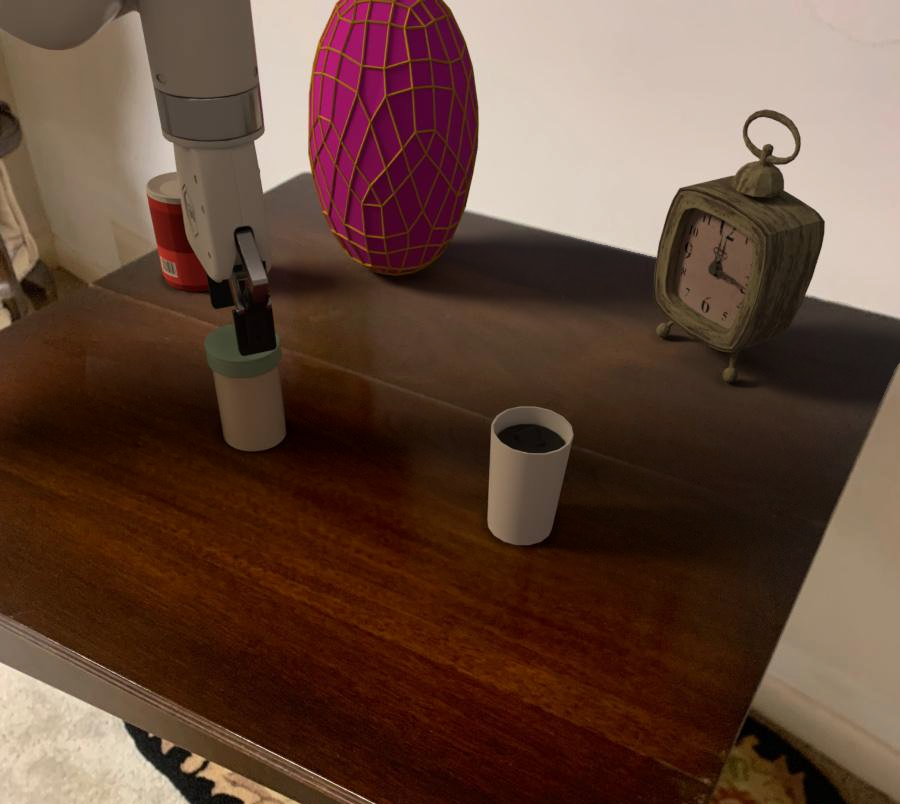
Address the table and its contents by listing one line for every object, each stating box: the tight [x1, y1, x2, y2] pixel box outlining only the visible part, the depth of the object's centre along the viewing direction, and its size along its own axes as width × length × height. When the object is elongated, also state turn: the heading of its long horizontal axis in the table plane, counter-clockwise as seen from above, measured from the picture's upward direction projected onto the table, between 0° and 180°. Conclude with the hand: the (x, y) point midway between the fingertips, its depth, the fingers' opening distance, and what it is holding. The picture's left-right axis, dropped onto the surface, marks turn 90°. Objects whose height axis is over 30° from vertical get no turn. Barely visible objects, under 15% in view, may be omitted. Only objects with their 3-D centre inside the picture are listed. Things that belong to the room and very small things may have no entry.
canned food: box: [145, 171, 209, 293], centre depth 103 cm, size 8×8×11 cm
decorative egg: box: [307, 0, 480, 277], centre depth 100 cm, size 19×19×30 cm
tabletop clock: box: [652, 109, 826, 384], centre depth 91 cm, size 14×9×25 cm, turn 32°
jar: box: [211, 364, 287, 452], centre depth 82 cm, size 6×6×9 cm
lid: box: [203, 322, 283, 378], centre depth 79 cm, size 7×7×2 cm
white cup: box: [486, 405, 574, 546], centre depth 75 cm, size 7×7×10 cm
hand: (243, 326), depth 78 cm, fingers open, 8 cm apart
